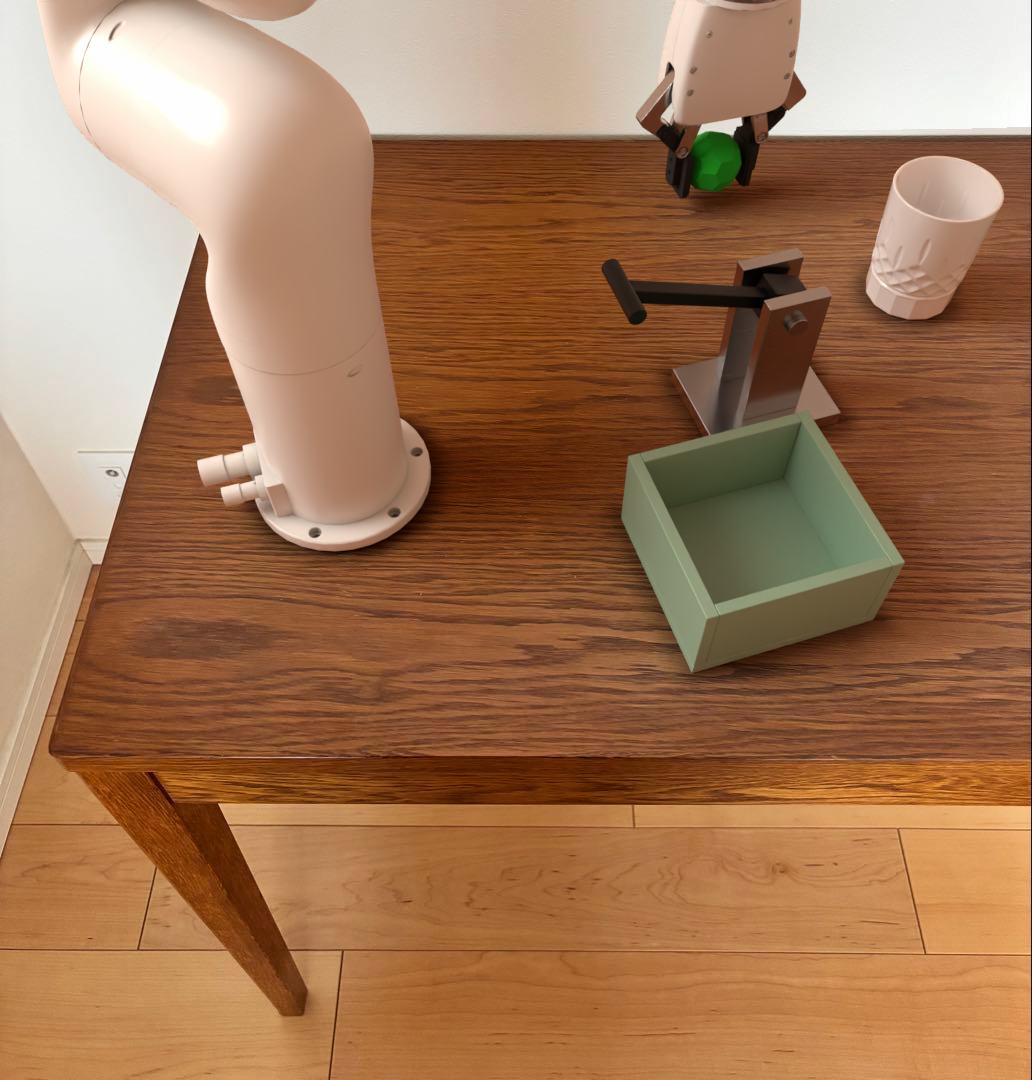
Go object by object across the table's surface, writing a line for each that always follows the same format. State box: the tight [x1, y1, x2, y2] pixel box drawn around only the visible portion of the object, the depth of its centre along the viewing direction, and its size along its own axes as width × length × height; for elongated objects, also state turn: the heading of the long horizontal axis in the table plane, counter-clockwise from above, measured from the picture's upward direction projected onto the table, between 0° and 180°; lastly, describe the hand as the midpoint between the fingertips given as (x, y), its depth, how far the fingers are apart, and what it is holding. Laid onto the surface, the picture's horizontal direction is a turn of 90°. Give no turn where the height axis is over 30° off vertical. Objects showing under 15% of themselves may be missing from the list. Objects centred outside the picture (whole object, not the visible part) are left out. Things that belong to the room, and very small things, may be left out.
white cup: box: [865, 155, 1005, 320], centre depth 77 cm, size 8×8×10 cm
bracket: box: [670, 247, 841, 437], centre depth 69 cm, size 10×8×12 cm
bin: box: [620, 411, 906, 674], centre depth 63 cm, size 13×13×7 cm
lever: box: [600, 258, 808, 326], centre depth 64 cm, size 14×5×2 cm, turn 107°
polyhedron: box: [690, 130, 741, 193], centre depth 85 cm, size 5×5×5 cm
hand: (708, 181), depth 87 cm, fingers closed on polyhedron, 5 cm apart
